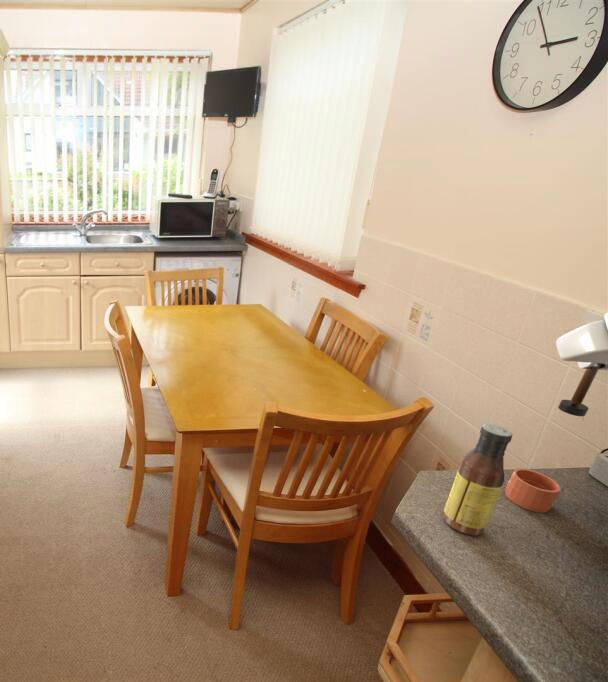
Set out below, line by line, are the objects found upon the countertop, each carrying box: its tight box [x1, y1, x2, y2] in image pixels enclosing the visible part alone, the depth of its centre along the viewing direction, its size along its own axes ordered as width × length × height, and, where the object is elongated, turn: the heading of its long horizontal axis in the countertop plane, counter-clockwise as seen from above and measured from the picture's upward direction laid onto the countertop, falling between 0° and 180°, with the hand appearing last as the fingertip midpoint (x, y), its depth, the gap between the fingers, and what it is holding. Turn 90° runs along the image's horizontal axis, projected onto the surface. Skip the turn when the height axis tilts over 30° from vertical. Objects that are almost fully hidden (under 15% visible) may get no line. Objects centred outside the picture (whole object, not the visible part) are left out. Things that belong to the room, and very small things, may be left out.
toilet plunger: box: [557, 363, 602, 417], centre depth 82 cm, size 4×4×16 cm
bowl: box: [504, 468, 562, 514], centre depth 92 cm, size 7×7×5 cm
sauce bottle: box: [443, 423, 513, 537], centre depth 82 cm, size 6×6×20 cm
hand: (590, 365), depth 82 cm, fingers closed on toilet plunger
